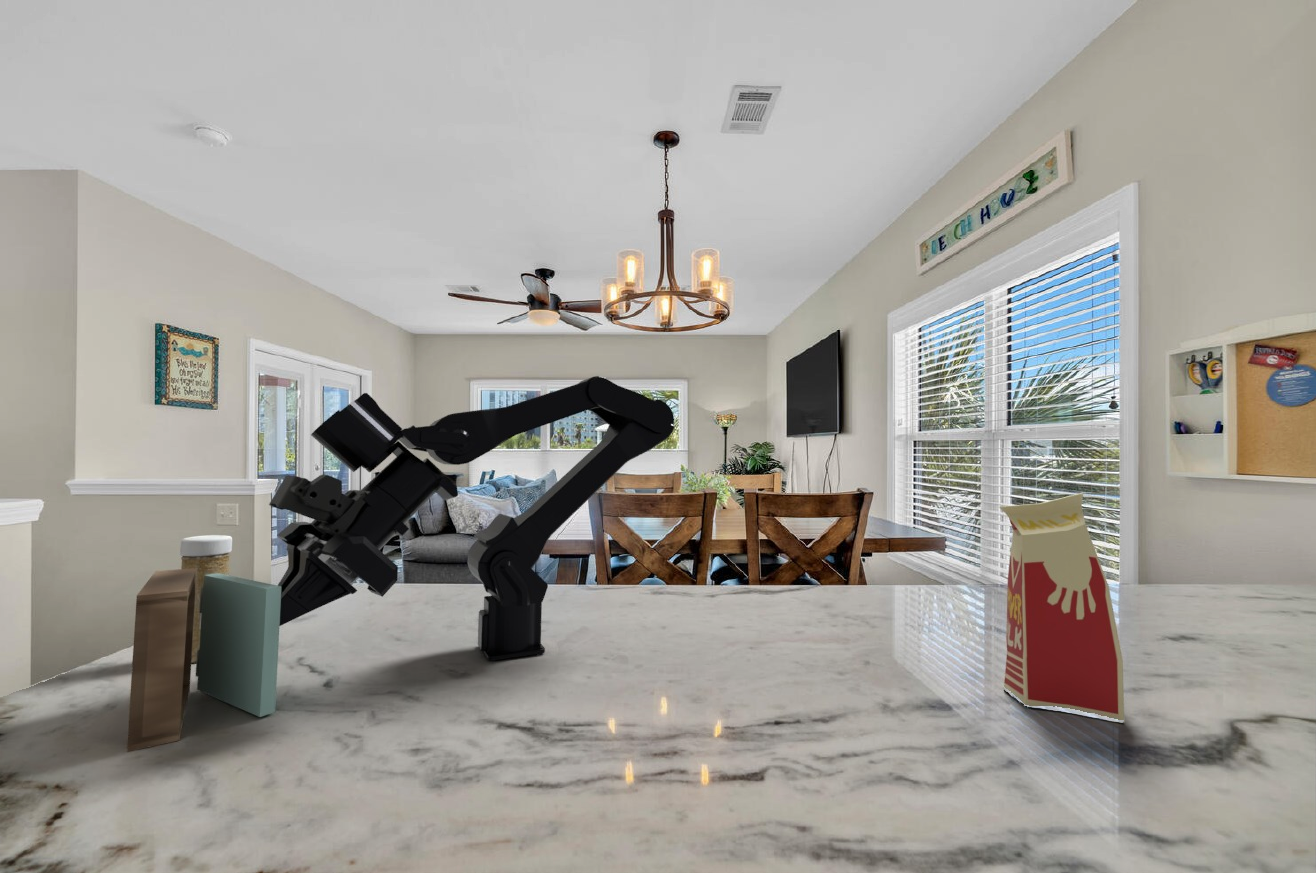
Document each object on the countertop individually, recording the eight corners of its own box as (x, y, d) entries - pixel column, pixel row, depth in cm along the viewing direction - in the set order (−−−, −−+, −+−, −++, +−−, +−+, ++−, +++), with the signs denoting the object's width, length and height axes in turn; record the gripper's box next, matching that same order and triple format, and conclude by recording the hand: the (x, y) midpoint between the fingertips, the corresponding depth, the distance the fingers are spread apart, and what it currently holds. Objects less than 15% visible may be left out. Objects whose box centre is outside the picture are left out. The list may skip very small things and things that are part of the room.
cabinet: (189, 690, 53) (196, 568, 54) (178, 740, 44) (187, 590, 45) (147, 697, 52) (155, 571, 52) (126, 751, 42) (136, 595, 43)
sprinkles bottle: (224, 659, 62) (230, 537, 63) (170, 667, 59) (177, 540, 60) (227, 648, 66) (234, 533, 67) (177, 654, 63) (184, 535, 64)
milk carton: (1099, 688, 57) (1093, 492, 58) (1131, 726, 49) (1123, 495, 50) (995, 673, 61) (992, 489, 62) (1008, 706, 52) (1003, 492, 53)
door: (206, 683, 55) (212, 571, 55) (275, 711, 49) (281, 586, 49) (191, 687, 54) (198, 573, 54) (259, 717, 48) (266, 588, 48)
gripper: (303, 449, 62) (167, 559, 54) (366, 445, 50) (201, 590, 41) (375, 515, 68) (261, 626, 59) (448, 528, 55) (317, 671, 46)
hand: (259, 627), depth 51 cm, fingers closed
